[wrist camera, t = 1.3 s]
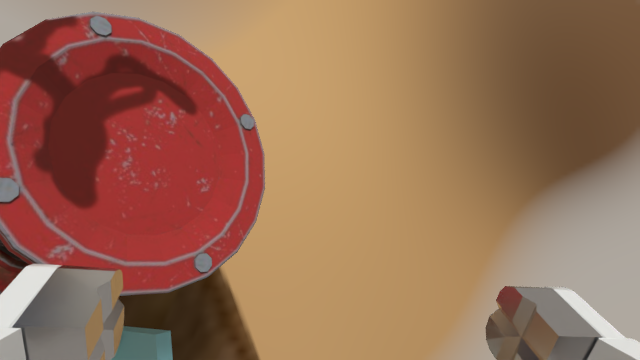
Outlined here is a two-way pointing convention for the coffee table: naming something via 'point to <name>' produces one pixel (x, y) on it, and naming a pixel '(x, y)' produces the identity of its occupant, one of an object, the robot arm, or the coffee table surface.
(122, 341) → the box lid
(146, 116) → the hourglass
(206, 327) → the coffee table surface
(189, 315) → the coffee table surface
